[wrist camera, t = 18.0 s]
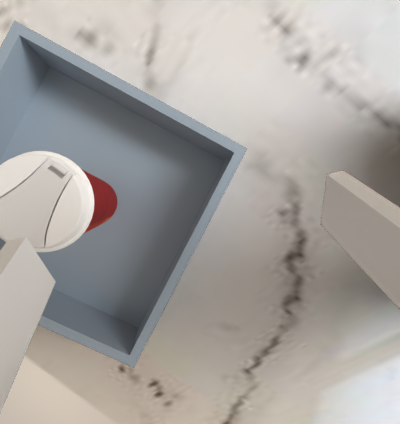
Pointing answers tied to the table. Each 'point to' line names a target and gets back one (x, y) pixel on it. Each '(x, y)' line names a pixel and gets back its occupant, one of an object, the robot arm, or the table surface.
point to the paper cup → (51, 200)
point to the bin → (121, 183)
